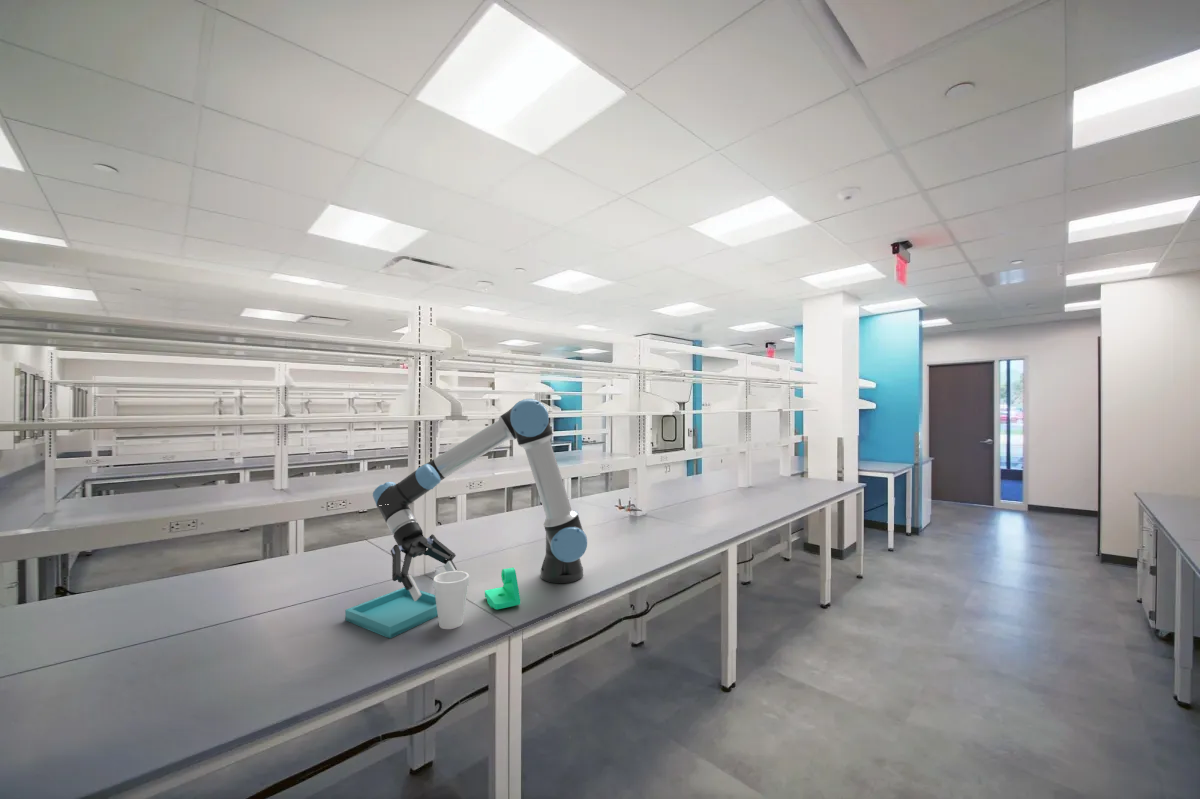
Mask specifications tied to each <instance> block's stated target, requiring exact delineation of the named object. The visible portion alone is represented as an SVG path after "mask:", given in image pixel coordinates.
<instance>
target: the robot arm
mask: <svg viewBox="0 0 1200 799" xmlns="http://www.w3.org/2000/svg"><path fill="white" fill-rule="evenodd" d="M549 419H550V417H549V412H548V410H547V408H546V406H545V405H544V404H543V403H542V402H541V401H539V400H537V399H533V398H523V399H522V400H519V401H518V402H516V403H515V404H514V406H512V407H511V408H510V409H508V410H507V411H505V413H503V414H501V415H500V416H499V418H498V420H496V421H495V422H493V423H492V424H490V425H488V426H486V427H485V428H484V429H482V430H480V431H479V432H477V433H475V434H473V435H472V436H469V437H468V438H467V439H465V440H463V441H462V442H460V443H458V444H457V445H454V446H453V447H452V448H449V449H448V450H446V451H445V452H444V453H442V454H439V455H438V456H437V457H435V458H434V459H432V460H430V461H428V462H427V463H425V464H422V465H421V466H419V467H418V468H417V469H416V470H414V471H413V472H411V473H410V474H409V475H407V476H406V477H405V478H403V479H402V480H401V481H400V482H397V483H396V482H394V481H387V482H384V483H383V484H380V485H379V486H377V487H375V489H374V490H373V493H372V497H373V500H374V503H375V506H376V508H377V509H378V511H379V512H380V514H381V516H382V518H383V520H384V521H385V523H386V525H387V528H388V529H389V531H390V533H391V535H393V539H394V541H395V542H396V543H395V545H394V546H393V547H392V548H391V549H390V554H391V556H392V557H391V558H392V562H391V563H392V567H391V568H392V572H391V573H392V575H391V576H392V581H393V582H398V583H401V584H402V585H403V588H404V587H405V589H406V590H409V592H410V593H411V595H412V597H413V599H414V601H417V600H418V599H419V597H420V596H421V595H422V594H421V593H420V591H419V590H420V589H419V587H418V585H417V583H416V581H415V579H414V578H413V576H412V574H408V573H409V572H410V566H411V562H412V560H413V559H414V558H416V557H419V556H423V555H424V556H428V557H429V558H430V557H431V559H432V558H433V559H434V560H436V561H438V562H440V563H442V564H443V569H444V570H445V572H449V571H458V570H457V567H456V565H455V563H454V562H453V559H455V558H456V556H457V555H456V553H455V552H453V551H452V550H450V549H449V548H448V547H447V546H446V545H444V544H443V543H442V542H441V541H440V540H439V539H438V538H436V536H435V535H434V534H430V535H429V536H428V537H425V535H424V534H423V533H424V532H423V530H422V528H421V526H420V524H419V522H418V521H417V518H416V517H415V515H414V513H413V511H412V510H411V508H410V506H409V505H411V504H412V503H414V502H415V501H417V500H419V499H420V498H421V497H423V496H424V495H425V494H427V493H428V492H429V491H431V490H433V489H434V488H436V486H438V485H439V484H440V483H441V481H443V480H444V479H446V478H447V477H450V476H451V475H452V474H454V473H456V472H457V471H459V470H460V469H461V470H462V469H463V468H464V467H466V466H467V465H469V464H471V463H472V462H474V461H476V460H477V459H480V458H481V457H482V456H484V455H485V454H488V453H489V452H491V451H492V450H494V449H496V448H497V447H500V446H501V445H502V444H504V443H505V442H507V441H510V440H516V441H517V445H518V446H519V447H521V448H523V449H524V450H525V455H526V458H527V461H528V463H529V466H530V470H531V473H532V477H533V480H534V482H535V485H536V488H537V492H538V495H539V498H540V499H539V500H540V501H541V504H542V508H543V511H544V515H545V521H544V522H543V527H544V530H545V556H544V558H543V562H542V564H541V569H540V578H541V579H542V580H543V581H546V582H548V583H553V584H566V583H567V584H568V583H573V582H577V581H579V580H581V579H582V578H583V577H584V567H583V565H582V562H581V561H582V560H581V558H582V556H584V554H585V553H586V550H587V549H588V548H587V547H588V538H587V535H586V533H585V532H584V529H583V527H582V523H581V520H580V517H579V513H578V511H576V510H573V509H572V507H571V503H570V500H569V497H568V494H567V490H566V488H565V485H564V484H565V483H564V481H563V477H562V475H561V471H560V469H559V466H558V461H557V459H556V456H555V453H554V449H553V446H552V442H551V438H552V437H553V435H554V433H553V430H552V426H551V423H550V420H549ZM385 504H386V505H385ZM387 504H389V505H387ZM379 505H382V506H379ZM402 553H404V557H403V564H402V561H401V560H402V559H401V558H402V555H401V554H402ZM401 564H402V565H401Z"/></svg>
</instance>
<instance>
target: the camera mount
mask: <svg viewBox="0 0 1200 799" xmlns="http://www.w3.org/2000/svg"><path fill="white" fill-rule="evenodd" d="M501 583H503V585H502V586H501V587H496V588H495V587H494V588H491V589H486V590H484V597H485V599H486V602H487V604H488V606H489V607H490V608H491V609H494V610H501V609H506V608H511V607H515V606H520V605H521V595H520V591H519V584H518V579H517V573H516V568H515V567H508V568H502V569H501Z"/></svg>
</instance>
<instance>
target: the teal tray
mask: <svg viewBox="0 0 1200 799" xmlns="http://www.w3.org/2000/svg"><path fill="white" fill-rule="evenodd" d="M419 591H420V593H421V594H422V595H421V596H420V597H419V599H418V600H417V601H414V599H413V597H412V595H411V593H410V592H409V590H406V589H405V587H404V586H403V587H402V588H398V589H397V590H393V591H391V592H389V593H386V594H383V595H381V596H378V597H375V598H372V599H370V600H367V601H365V602H362V603H360V604H359V603H358V604H357V605H354V606H352V607H349V608H346V609H345V615H344V616H345V618H344V619H345V620H344V621H345V622H348V623H350V624H352V625H356V626H358V627H360V628H363V629H366V630H368V631H370V632H373V633H375V634H377V635H379V636H382V637H384V638H388V639H392V638H395V637H397V636H399V635H401V634H403V633H405V632H407V631H410V630H411V629H413V628H415V627H418V626H420V625H422V624H424V623H426V622H428V621H430V620H433V619H435V618H436V617H437V618H438V614H437V606H436V599H435V594H433V593H430V592H427V591H423V590H420V589H419Z"/></svg>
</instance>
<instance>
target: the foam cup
mask: <svg viewBox="0 0 1200 799" xmlns="http://www.w3.org/2000/svg"><path fill="white" fill-rule="evenodd" d="M432 582H433V583H432V584H433V585H432V586H433V590H434V595H435V599H436V606H437V614H438V616H437V622H438V626H439V627H440V629H443V630H452V629H453V630H454V629H456V628H457V629H458V628H459V627H461V626H462V625H463V623H464V616H465V610H466V601H467V594H468V586H469V584H470V574H469V573H468V572H467V571H462V570H456V571H449V572H447V571H445V572H441V573H437V575H435V576H434V577H433V581H432Z"/></svg>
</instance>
